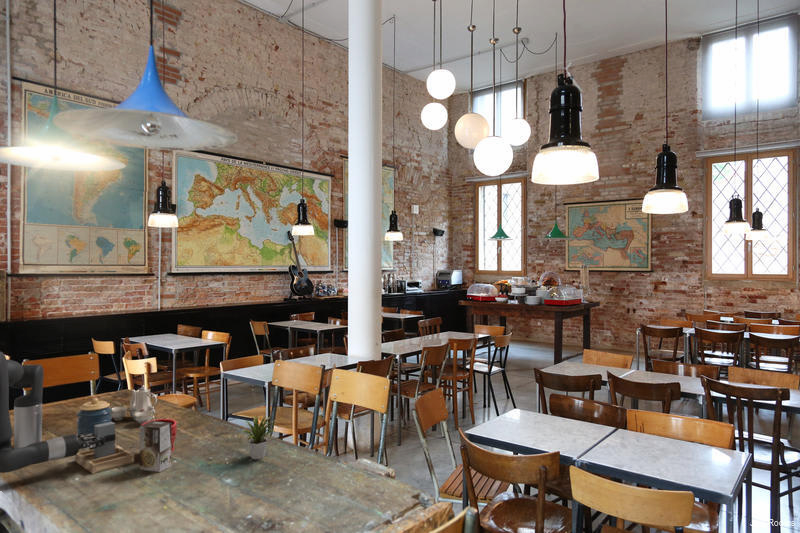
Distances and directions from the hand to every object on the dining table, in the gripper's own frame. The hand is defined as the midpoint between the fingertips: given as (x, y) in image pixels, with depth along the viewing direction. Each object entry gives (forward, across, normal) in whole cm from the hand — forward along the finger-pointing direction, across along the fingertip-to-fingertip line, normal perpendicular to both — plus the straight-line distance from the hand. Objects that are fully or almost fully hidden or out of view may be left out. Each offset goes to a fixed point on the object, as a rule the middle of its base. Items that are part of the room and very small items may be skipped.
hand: (112, 435), depth 195 cm
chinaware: (+28, +45, +9) cm, 54 cm away
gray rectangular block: (-3, 0, +8) cm, 8 cm away
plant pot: (+14, -7, +9) cm, 18 cm away
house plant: (+37, -40, +9) cm, 55 cm away
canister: (+4, +30, +9) cm, 32 cm away
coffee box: (+7, -20, +9) cm, 23 cm away
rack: (-3, 0, +9) cm, 10 cm away
